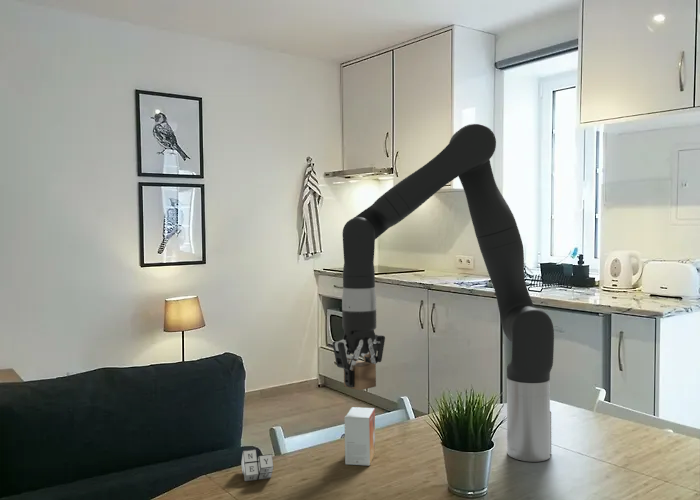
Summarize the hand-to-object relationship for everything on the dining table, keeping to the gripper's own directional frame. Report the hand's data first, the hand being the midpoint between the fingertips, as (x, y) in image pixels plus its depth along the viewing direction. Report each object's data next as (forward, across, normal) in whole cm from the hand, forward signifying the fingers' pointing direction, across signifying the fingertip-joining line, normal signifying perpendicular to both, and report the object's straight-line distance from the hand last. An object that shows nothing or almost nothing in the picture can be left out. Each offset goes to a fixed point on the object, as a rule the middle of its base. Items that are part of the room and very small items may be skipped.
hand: (359, 384), depth 134 cm
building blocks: (+17, -23, +7) cm, 29 cm away
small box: (+17, 0, 0) cm, 17 cm away
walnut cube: (0, 0, 0) cm, 0 cm away
